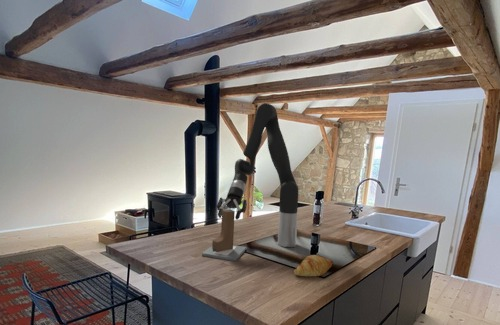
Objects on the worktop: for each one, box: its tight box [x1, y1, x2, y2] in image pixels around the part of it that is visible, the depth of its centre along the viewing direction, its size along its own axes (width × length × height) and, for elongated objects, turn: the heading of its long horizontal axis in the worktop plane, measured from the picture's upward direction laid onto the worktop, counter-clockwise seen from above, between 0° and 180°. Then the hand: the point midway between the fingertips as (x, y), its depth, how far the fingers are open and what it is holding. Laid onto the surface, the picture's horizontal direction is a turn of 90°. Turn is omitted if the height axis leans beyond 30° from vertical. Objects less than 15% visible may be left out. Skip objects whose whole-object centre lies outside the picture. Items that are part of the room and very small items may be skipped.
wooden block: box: [211, 209, 236, 252], centre depth 133 cm, size 9×4×18 cm, turn 127°
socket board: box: [201, 244, 247, 262], centre depth 133 cm, size 16×16×1 cm
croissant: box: [293, 254, 334, 277], centre depth 116 cm, size 21×10×8 cm, turn 125°
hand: (227, 217), depth 134 cm, fingers open, 8 cm apart
